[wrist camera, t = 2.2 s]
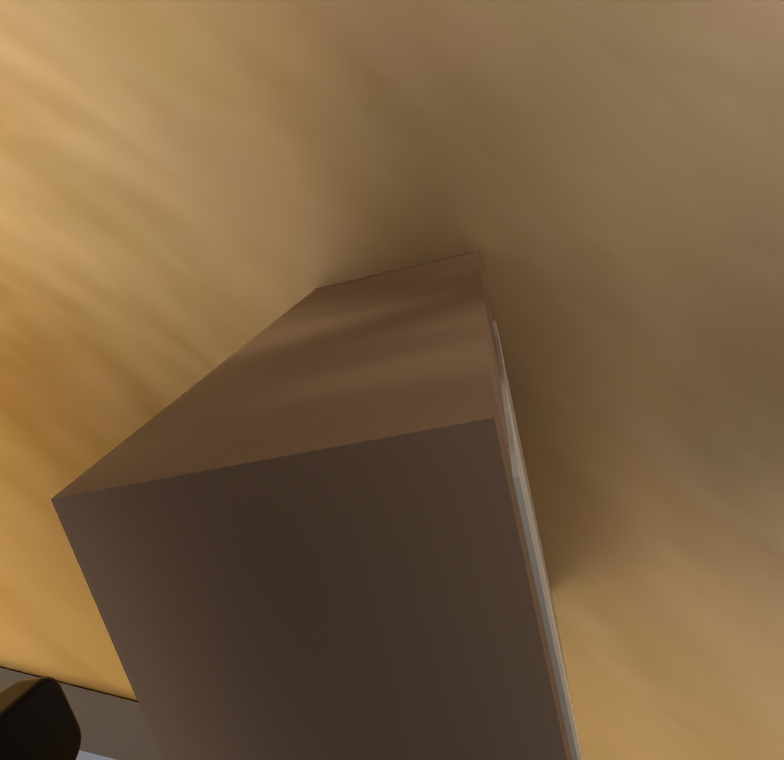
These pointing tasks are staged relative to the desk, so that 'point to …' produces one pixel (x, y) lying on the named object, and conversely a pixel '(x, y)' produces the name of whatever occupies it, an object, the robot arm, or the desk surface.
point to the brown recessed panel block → (335, 542)
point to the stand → (103, 723)
